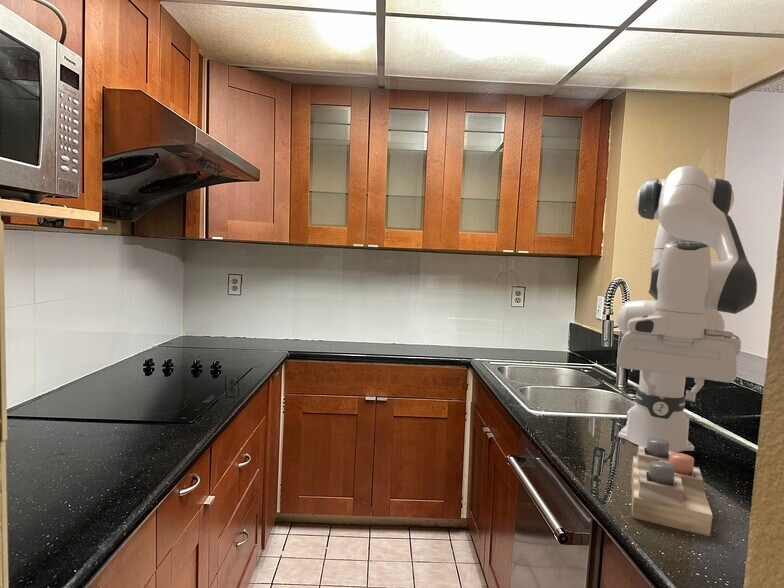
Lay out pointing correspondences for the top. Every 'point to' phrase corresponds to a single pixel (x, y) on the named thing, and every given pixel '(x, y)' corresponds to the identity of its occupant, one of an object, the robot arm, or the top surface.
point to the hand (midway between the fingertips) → (670, 397)
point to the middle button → (682, 463)
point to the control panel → (669, 497)
